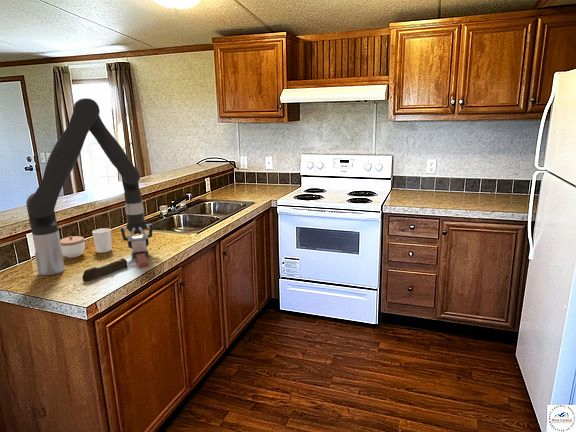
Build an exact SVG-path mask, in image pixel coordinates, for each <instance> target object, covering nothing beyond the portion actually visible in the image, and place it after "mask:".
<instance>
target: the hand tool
mask: <svg viewBox="0 0 576 432" xmlns="http://www.w3.org/2000/svg"><path fill="white" fill-rule="evenodd" d="M125 268H128V261H127V259H125V258H119V260H117V261H113V262H110V263H108V264H105V265H102V266H100V267H97V266H96V267H95V266H94V267H91V268H88V269H86V270H84V272H83V274H82V282H83V283H86V282H90V281H94V280H98V279H99V277H101V276H103V275H105V274H110V273H113V272H114V271H117V270H120V269H125Z"/></svg>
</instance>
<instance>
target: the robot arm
mask: <svg viewBox="0 0 576 432" xmlns="http://www.w3.org/2000/svg"><path fill="white" fill-rule="evenodd" d="M99 106H100V105H98V103H97V102H96V100H94V99H92V98H89V97H84V98H80V99H78V100H77V101H75V103H74V104H73V107H72V115H71V117H70V120H69V122H68V125H67V126H66V128H65V130H64V132H63V133H62V134H61V135H60V136H59V138H58V140H57V141H56V143H55V144H54V146H53V149H52V151H51V152H50V155H49V157H48V159H47V162H46V164H45V168H44V172H43V175H42V176H43V177H42V179H41V181H40V183H39V186H38V187H37V189H36V191H35V192H33V193H32V194H31V195H29V196H28V197H27V200H26V210H27V214H28V215H27V216H28V220H29V226H30V230H31V235H32V241H33V245H34V250H35V252H34V257H35V262H36V267H37V272H38V273H37V274H38V276H39V277H40V276H53V275H56V274H57V275H58V274H60V273H63V272H64V271H65V269H66V267H65V262H64V255H63V254H62V249H61V243H60V240H61V238H60V231H59V226H58V222H57V217H56V213H55V212H56V211H55V208H56V205H57V201H58V199H59V196H60V193H61V190H62V188H63V187H64V185H65V184H66V182H67V180H68V178H69V176H70V174H71V172H72V171H73V169H74V168H75V165H76V163H77V161H78V159H79V156H80V154H81V152H82V150H83V146H84V144H85V140H86V138H87V136H88V133H89V132H90V134H91V135H92V136H93V138H94V139H95V140H96V141H97V143H98V145H99V146H100V148H101V149H102V150H103V152H104V154H105V155H106V157H107V159H109V161H110V164H111V165H112V166H113V167H114V168H116V170H117V172H118V173H119V175H120V177H121V182H122V186H123V187H122V188H123V192H124V202H125V208H124V209H125V216H126V217H125V218H126V226H121V227H120V231H121V236H122V239H123V241H124V242H125V241H127V245H128V248H129V249H130V250H131V249H132V244H131V238H132V236H134V235H137V234H138V235H144V237H145V240H146V247H147V248H148V246H149V245H150V244H149V243H150V242H149V238H152V237H153V224H152V223H146V220H145V213H144V204H143V200H142V199H143V197H142V192H141V190H140V185H139V182H140V179H141V175H140V172H139V171H138V169H137V168H136V167H135V165H134V164H133V163H132V162H131V160H130V158H129V157H128V155H127V153H126V151H124V149H123V147H122V146H121V145H120V143H119V142H118V141H117V139H116V138H115V137H114V135H112V133H111V132H110V131H109V130H108V128H107V126H106V125H105V124H104V122H103V120H102V119H101V116H100V113H101V112H100V107H99ZM146 227H147V229H148V233H146V231H145V229H146ZM127 230H128V232H129V234H128V235H127V236H126V233H125V232H126V231H127Z"/></svg>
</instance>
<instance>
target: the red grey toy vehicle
mask: <svg viewBox="0 0 576 432" xmlns="http://www.w3.org/2000/svg"><path fill="white" fill-rule="evenodd" d="M146 249H147V251H141V252H134V253H133V252H132V249H130V252H131V253H130V254H131V258H132V259H136V261H137V264H138V268H139V269H140V268H147V267H149V261H148V260H147V257H148V256H149V250H148V246H147V247H146Z"/></svg>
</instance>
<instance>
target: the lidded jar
mask: <svg viewBox="0 0 576 432" xmlns="http://www.w3.org/2000/svg"><path fill="white" fill-rule="evenodd" d="M60 243H61V249H62V254H63V256H65V257H66V258H68V259H69V258H71V259H72V258H78V257H80V256H81V255H82V253H83V252H84V250H85V244H86V243H85V238H84V237H83V236H76V235H75V236H72V235H69V236H68V237H67V236H66V237H64V238H62V239H61V238H60Z"/></svg>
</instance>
